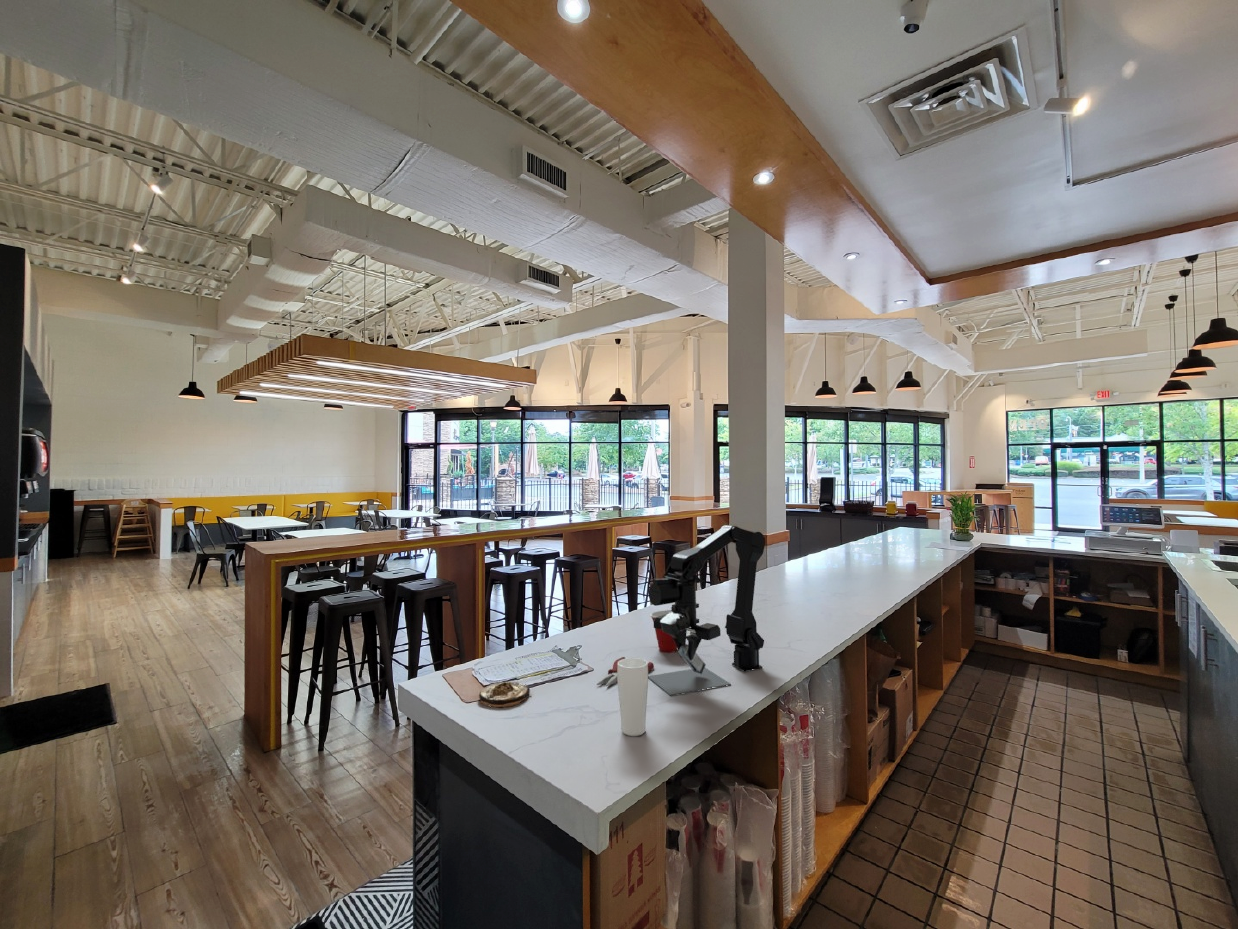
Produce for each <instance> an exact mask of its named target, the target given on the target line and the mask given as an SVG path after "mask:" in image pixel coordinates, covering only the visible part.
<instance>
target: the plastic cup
mask: <svg viewBox="0 0 1238 929" xmlns="http://www.w3.org/2000/svg"><path fill="white" fill-rule="evenodd" d="M669 613H671V609H665V610H658V611H653V612H652V613H650V614H649V615H650V617H651V619H652V622H653V621H654V619H655V618H656V617H658V616H662V615H665V614H669ZM654 631H655V635H656V636H655V637H656V640H657V647H658V650H659V651H660V652H662V653H672V652H673V651H674V652H676V651H678V649H677V646H676V643H675V641H674V639H673V637H672V636H670V635H669V634H667V633H664V632H663V630H662V629H657V628H654ZM674 652H673V653H674Z"/></svg>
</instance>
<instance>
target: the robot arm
mask: <svg viewBox="0 0 1238 929" xmlns="http://www.w3.org/2000/svg"><path fill="white" fill-rule="evenodd" d="M730 543H734V544H735V552H736V554H737V558H739V559H738V560H739V565H738V575H737V582H736V584H737V585H736V596H735V603H734V604H735V605H734V610H732V612H731V614H727V615H726V617H725V619H726V620H725V621H726V622H725V625H724V629H725V632H726V635H727V636H728V638H729V641H730V644H733V645H734V650H733V662H732V663H731V665H732V666H734V667H735V668H737V669H739V670H741V671H742V670H743V671H742V672H748V671H749V670H750V671H753V670H752V669H756V670H761V669H763V666H762V665H760V650H761V649H763V648H764V644H765V640H764V638H763V637H762V636H761V635H760V634H759V632H757V630H758V629H757V621H756V618H755V616H754V613H753V606H754V595H755V588H756V587H755V586H756V577H757V576H756V575H757V567H758V566H757V565H758V561H759V560H760V559H761V557H762V556H763V554H764V551H765V547H766V546H765V545H766V537H765V535H764V534H763V533H762V532H761V531H755V530H747V529H743V528H741V527H738V526H737V525H729V524H724V525H723V526H721V527H720V529H717V531H715V532H714V533H712V534H711V535H709V536H708V537H707V538H705V539H704V540H703V541H701V542H699V543H698V544H697V545H695V546H694V547H692V548H686V549H683V550H681V551H679V552H676V553H674V554H673V555H672V557H671V558H670V559H671V561H670V563H669V564H668V567H667V568H666V569H665V572H664V574H663V576H662V578H653V579H652V584H651V585H650V586H649V588H648V591H647V592H648V593H647V594H648V599H649V602H651V604H652V605H653V606H656V607H657V606H662V605H670V604H671V608H670V610H671V613H669V614H665V615H662V616H658V617H656V618H655V619H654V621H653V620H652V622H653V628H654V629H655V628H657V629H662V630H663V632H664V633H667V634H669V635H670V636H672V637H673V639H674V641H675V643H676V646H677V651H679V649H680V647H681V645H682V643H683V644H688V652H689V660H692V659H693V657H694V655H695V653H697V650H698V648H699V645H700V644H701V642H702V640H704V641H711V640H714V639H717V638H718V637H721V628H720V626H719V625H718V624H714V623H709V622H706V623H703V624H700V618H697V609H698V608H699V607H700V603H697V588H696V585H697V584H701V583H703V580H702V578H700V577H699V576H698V573H699V572H700V571H701V570H702V569H703V568H704V565H705V563H706V561H708V559H709V558H711V557H712V556H714V555H715V554H717V553H718V552H720V551H721V550H722V549H723V548H726V546H728V545H730ZM699 624H700V625H699ZM687 631H689V635H687V634H688V633H687ZM686 642H688V643H686ZM679 656H680V657H679V658H681V659H683V658H682V657H681V655H680V654H679Z"/></svg>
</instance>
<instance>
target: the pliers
mask: <svg viewBox="0 0 1238 929" xmlns="http://www.w3.org/2000/svg"><path fill="white" fill-rule="evenodd" d="M625 658H626V657H625V656H621V657H619V658H617V659H616V660H615V661H614V663H613V665H612V668H610V669H608V671H607V675H606V676H604V677H603V678H602V679H601V680H600V681H598V683H596V685H597V686H600V685H604V684H605V687H609V686H611V685H613V684H616V683H618V681H617V665H618V661H620V660H622V659H625ZM647 663H648V674H649V673H650V672H651V671H653V670H654V669H655V666H654V663H653V662H652V661H648V662H647Z"/></svg>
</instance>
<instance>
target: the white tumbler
mask: <svg viewBox="0 0 1238 929" xmlns="http://www.w3.org/2000/svg"><path fill="white" fill-rule="evenodd" d="M648 663H649V662H648V660H645V659H644V658H639V657H627V658H626V657H625V659H622V660H620V661H618V665H617V690H618V701H619V711H620V725H621V726H620V727H621V728H620V729H621V731H622V733H623V734H624V735H626V736H628V737H638V736H641V735H643V734H644V733H645V732H646V731H647V730H646V729H647V728H646V727H647V726H646V725H647V724H646V720H647V706H648V705H647V704H648V691H649V678H648V676H649V673H648Z"/></svg>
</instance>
